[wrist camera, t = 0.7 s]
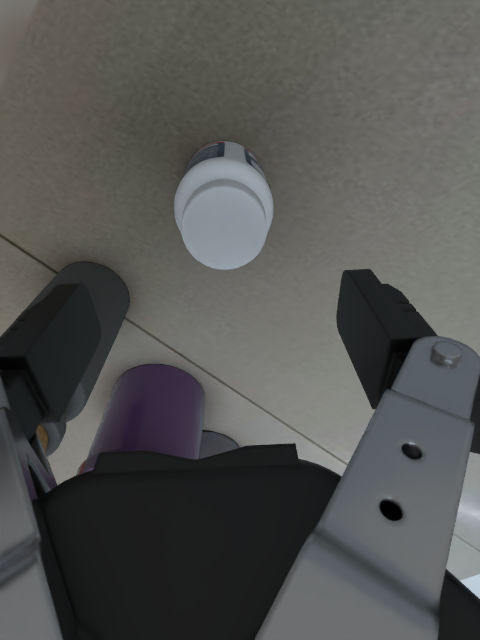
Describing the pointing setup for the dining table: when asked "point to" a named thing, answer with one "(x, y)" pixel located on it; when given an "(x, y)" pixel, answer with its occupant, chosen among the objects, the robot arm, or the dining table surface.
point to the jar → (151, 415)
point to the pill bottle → (223, 206)
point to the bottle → (111, 313)
